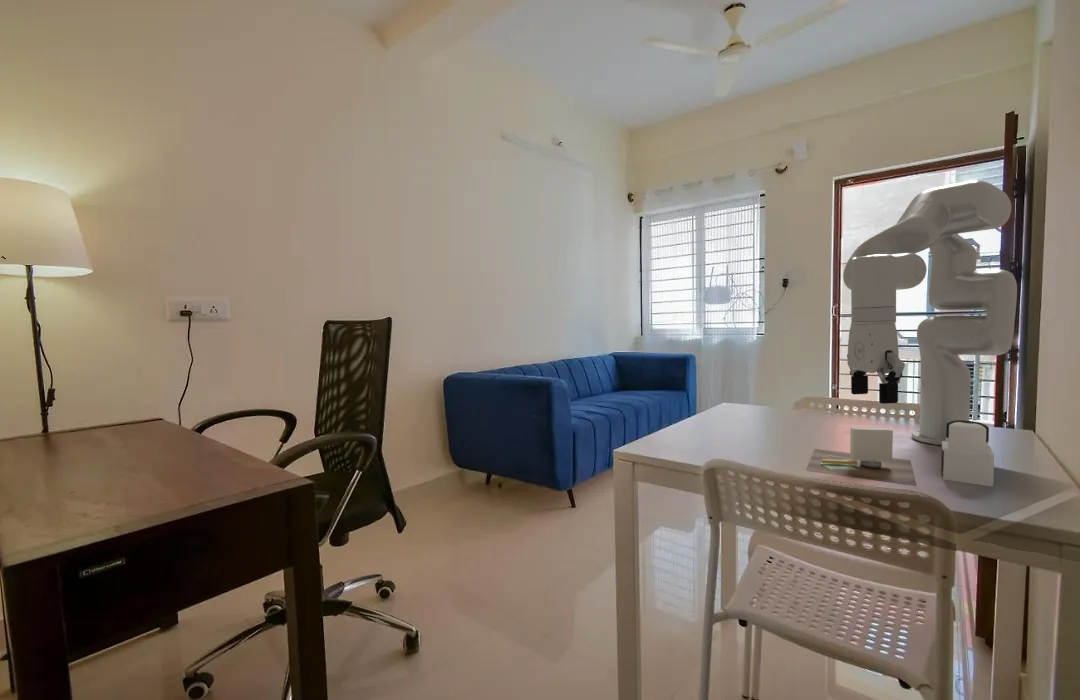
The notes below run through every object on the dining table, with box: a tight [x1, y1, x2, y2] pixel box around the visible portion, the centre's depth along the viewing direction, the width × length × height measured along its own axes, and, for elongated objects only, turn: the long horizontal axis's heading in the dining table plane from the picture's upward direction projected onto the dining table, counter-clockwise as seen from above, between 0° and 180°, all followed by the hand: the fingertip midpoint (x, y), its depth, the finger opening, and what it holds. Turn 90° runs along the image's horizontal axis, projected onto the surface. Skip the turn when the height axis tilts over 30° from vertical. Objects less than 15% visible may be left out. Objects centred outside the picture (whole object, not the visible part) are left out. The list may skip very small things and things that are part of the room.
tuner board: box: [805, 448, 918, 487], centre depth 100 cm, size 18×18×1 cm
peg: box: [822, 426, 894, 468], centre depth 99 cm, size 4×12×8 cm, turn 75°
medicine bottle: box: [940, 420, 995, 487], centre depth 90 cm, size 7×7×12 cm
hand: (873, 398), depth 98 cm, fingers open, 9 cm apart
